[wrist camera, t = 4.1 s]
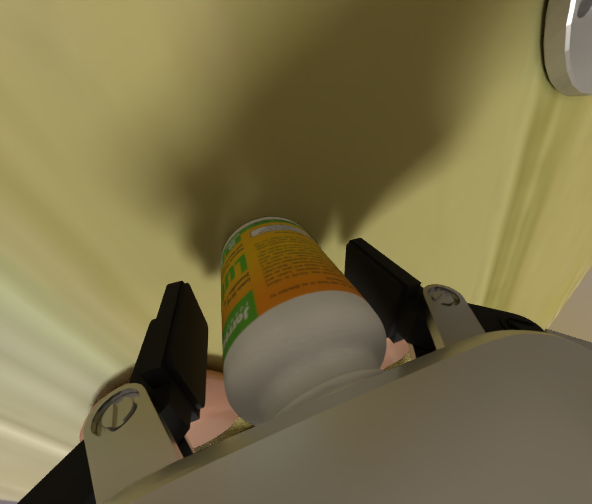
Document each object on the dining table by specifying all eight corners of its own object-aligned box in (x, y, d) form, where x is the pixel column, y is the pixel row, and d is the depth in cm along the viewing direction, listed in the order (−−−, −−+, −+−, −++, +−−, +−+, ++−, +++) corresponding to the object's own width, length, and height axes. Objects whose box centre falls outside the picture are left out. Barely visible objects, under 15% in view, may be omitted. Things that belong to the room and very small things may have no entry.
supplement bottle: (219, 211, 10) (230, 506, 2) (318, 216, 12) (517, 386, 4) (220, 297, 13) (225, 583, 5) (302, 290, 14) (406, 486, 7)
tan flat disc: (51, 397, 12) (35, 423, 11) (225, 342, 15) (225, 359, 14) (133, 454, 18) (128, 475, 16) (251, 407, 20) (254, 423, 19)
